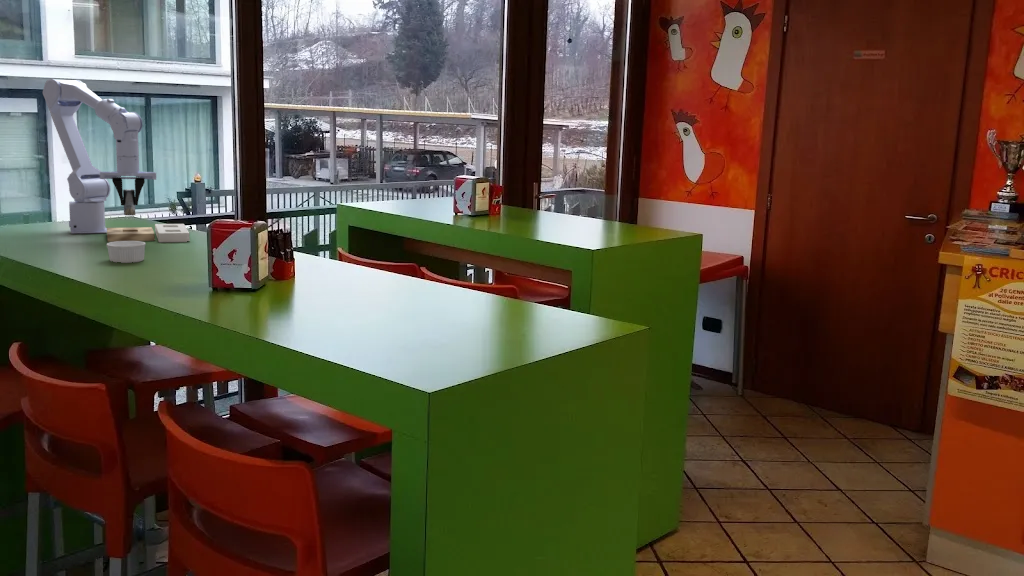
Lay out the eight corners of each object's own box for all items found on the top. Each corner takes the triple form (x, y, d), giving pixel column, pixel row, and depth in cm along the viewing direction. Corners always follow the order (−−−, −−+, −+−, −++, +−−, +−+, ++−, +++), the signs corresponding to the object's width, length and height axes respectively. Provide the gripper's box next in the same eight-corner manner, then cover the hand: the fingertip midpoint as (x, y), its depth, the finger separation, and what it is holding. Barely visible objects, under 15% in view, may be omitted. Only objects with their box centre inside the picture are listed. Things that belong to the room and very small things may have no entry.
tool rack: (159, 242, 252) (158, 233, 251) (155, 232, 268) (155, 224, 267) (189, 241, 255) (189, 233, 254) (183, 232, 271) (183, 223, 270)
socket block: (107, 241, 249) (107, 234, 249) (107, 234, 260) (106, 227, 259) (154, 240, 254) (154, 233, 253) (152, 234, 265) (151, 227, 264)
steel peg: (124, 215, 253) (123, 190, 252) (123, 214, 256) (122, 189, 255) (135, 215, 255) (134, 190, 253) (135, 213, 257) (134, 189, 256)
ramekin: (107, 264, 219) (106, 246, 218) (107, 257, 227) (106, 240, 226) (147, 263, 223) (146, 245, 222) (145, 256, 231) (144, 240, 230)
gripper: (99, 156, 246) (101, 206, 248) (156, 158, 251) (157, 206, 254) (98, 154, 252) (101, 203, 255) (154, 156, 258) (156, 203, 261)
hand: (129, 205), depth 255 cm, fingers closed on steel peg, 3 cm apart
